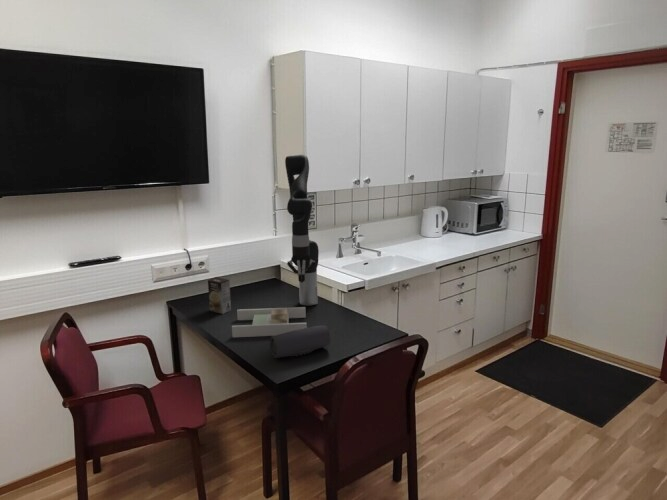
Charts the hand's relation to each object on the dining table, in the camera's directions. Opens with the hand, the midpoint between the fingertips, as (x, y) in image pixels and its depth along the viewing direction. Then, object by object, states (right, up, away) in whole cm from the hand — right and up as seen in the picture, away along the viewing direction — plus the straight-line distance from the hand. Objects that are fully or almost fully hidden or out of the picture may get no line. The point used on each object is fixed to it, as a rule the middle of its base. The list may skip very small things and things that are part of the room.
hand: (301, 281), depth 208 cm
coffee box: (-42, -16, +24) cm, 51 cm away
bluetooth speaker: (+1, -27, -22) cm, 35 cm away
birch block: (-10, -18, +3) cm, 21 cm away
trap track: (-14, -21, +4) cm, 25 cm away
